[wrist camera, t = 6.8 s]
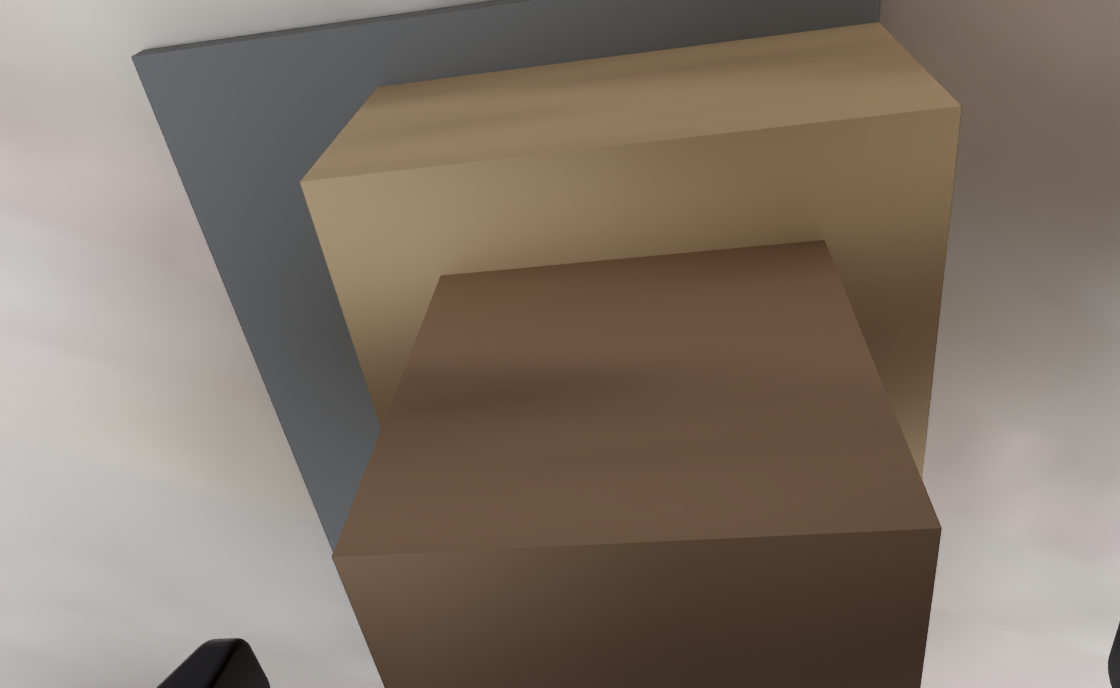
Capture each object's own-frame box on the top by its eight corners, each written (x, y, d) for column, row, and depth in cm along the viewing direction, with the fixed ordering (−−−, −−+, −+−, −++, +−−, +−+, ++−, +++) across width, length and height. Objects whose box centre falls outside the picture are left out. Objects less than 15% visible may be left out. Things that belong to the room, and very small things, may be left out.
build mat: (843, 637, 22) (846, 650, 21) (383, 652, 23) (379, 665, 23) (876, -53, 13) (882, -49, 13) (142, 50, 15) (131, 56, 14)
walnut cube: (816, 524, 14) (897, 857, 9) (506, 540, 14) (452, 856, 10) (823, 240, 11) (942, 528, 7) (440, 276, 12) (331, 558, 7)
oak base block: (857, 429, 17) (910, 583, 14) (473, 454, 19) (438, 603, 15) (879, 21, 13) (961, 105, 10) (377, 87, 14) (299, 181, 11)
